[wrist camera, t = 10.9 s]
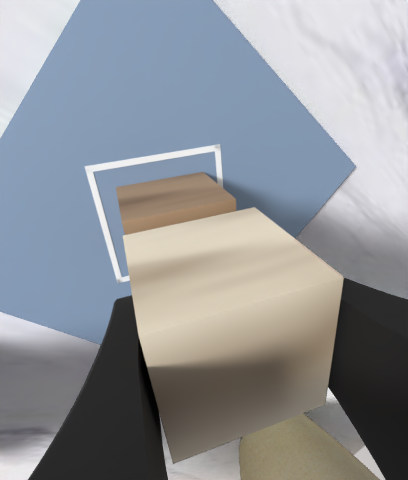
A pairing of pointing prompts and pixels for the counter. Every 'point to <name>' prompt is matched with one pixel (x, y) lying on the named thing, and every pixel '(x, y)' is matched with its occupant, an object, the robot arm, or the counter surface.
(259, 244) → the ash block
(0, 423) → the counter surface
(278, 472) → the plant pot
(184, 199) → the walnut block
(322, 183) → the blueprint board
